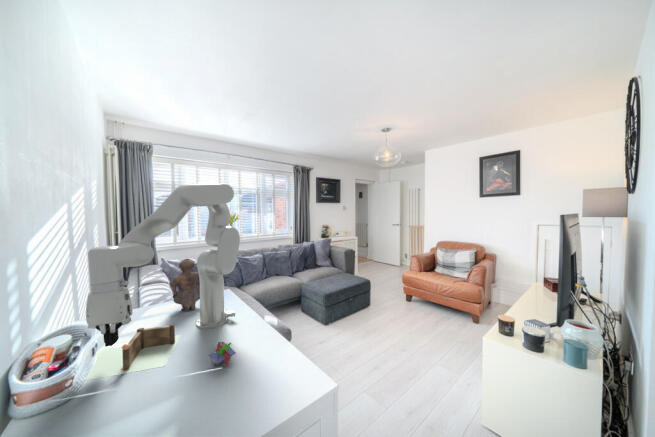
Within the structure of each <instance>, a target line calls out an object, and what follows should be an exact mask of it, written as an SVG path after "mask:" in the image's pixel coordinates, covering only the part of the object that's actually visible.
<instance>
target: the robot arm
mask: <svg viewBox="0 0 655 437" xmlns="http://www.w3.org/2000/svg"><path fill="white" fill-rule="evenodd" d="M234 195H235V191H234V189H233V187H232V186H231V185H230V184H227V183H224V182H221V183H193V184H183V185H179V186H177V187H175V189H174V190H173V191H172V192H171V193H170V194H169V195H168V196H167V198H165V200H163V202H162V203H161V204H160V205H159V206H158V207H157V208H156V209H155V210H154V211H153V212H152V213H151V214H150V215H148V216H147V217H146V218H145V219H143V220H142V221H141V222H139V223H138V224H137V225H135V226H134V227H133V228H132V229H131V230H130V231H129V232H128V233H127V234H126V235H125V236H124V237H123V238H122V239H121V240H120V241H119V242H118V244H117V245H104V246H103V245H102V246H98V247H93V248H91V249H89V250H88V252H87V259H88V273H89V274H88V275H89V287H90V289H89V290H90V292H89V293H88V294H87V299H86V303H85V304H86V306H85V320H86V324H87V328H88V329H92V330H97V331H98V332H100V334H101V335H103V343H104V345H105V347H107V346H112V345H113V344H117V342H118V341H119V329H120V328H121V327H122V326H125V325H128V324H130V323H131V322H132V317H131V316H133V303H132V298H131V293H130V292H129V289H128V287H127V286H128V285H129V281H128V280H125V278H124V270H123V269H124V268H130V267H132V268H133V267H139V266H140V267H141V266H144V265H146V264H149V263H150V262H151V261H152V260H153V259H154V256H155V251H154V250H155V249H154V248H153V247H152V246H151V245H149V244H150V243H151V242H152V241H153V240H154V239H155V238H157V237H158V236H160V235H162V234H163V233H166V232H168V231H171V230H172V229H174V228H177V226H178V225H179V224H180V222H181V221H182V220H183V219H184V217H186V215H187V214H188V212H190V210H191V209H192V208H193V207H206V208H207V210H208V220H207V225H206V230H205V235H204V240H205V241H204V242H205V243H206V245H208V246H210V247H213V248H217V250H216V249H207V250H204V251H202V252H201V253H200V254H199V255H198V257H197V259H196V267H197V272H198V273H199V282H200V299H199V318H198V319H197V320H196V322H195V327H197V328H198V329H204V330H206V329H207V330H208V329H214V328H218V327H220V326H223V325H224V324H226V323H228V321H229V317H230V318H232V317H236V312H235V311H233V310H228V311H227V310H226V307H225V279H224V276H227V275H229V274H230V273H232V272H233V271H234V269H235V267H236V265H237V260H238V254H239V250H240V249H239V248H240V243H241V237H240V232H239V231H238V229H237V228H236V227H234V226H231V225H230V219H231V212H230V208H229V205H228V204H229V203H230V202H231V201H233V199H234ZM199 282H198V283H199ZM105 347H104V348H105Z"/></svg>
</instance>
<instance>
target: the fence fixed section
mask: <svg viewBox="0 0 655 437" xmlns="http://www.w3.org/2000/svg"><path fill="white" fill-rule="evenodd" d="M175 326H176V325H175V323H172V324H169V325H164V326H163V325H162V326H157V327H148V328H145V327H140V328H139V327H138V328H137V329H136V333H137V332H141V349H143V348H144V347H149V346H156V345H162V344H168V343H170V344H174V343H175V335H176V332H175V331H176V327H175Z"/></svg>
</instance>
